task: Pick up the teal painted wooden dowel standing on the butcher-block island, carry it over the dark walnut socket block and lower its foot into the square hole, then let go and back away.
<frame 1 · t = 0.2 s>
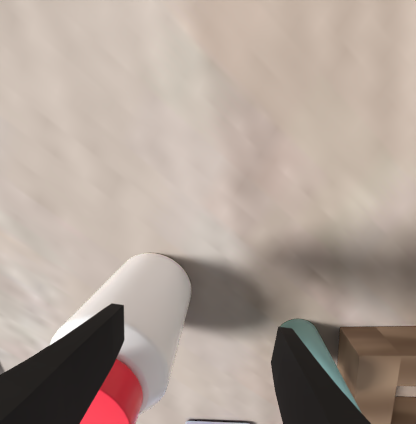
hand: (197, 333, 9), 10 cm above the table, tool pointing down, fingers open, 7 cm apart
socket block: (399, 375, 21), on the table
dowel: (297, 335, 21), on the table
pill bottle: (154, 286, 21), on the table
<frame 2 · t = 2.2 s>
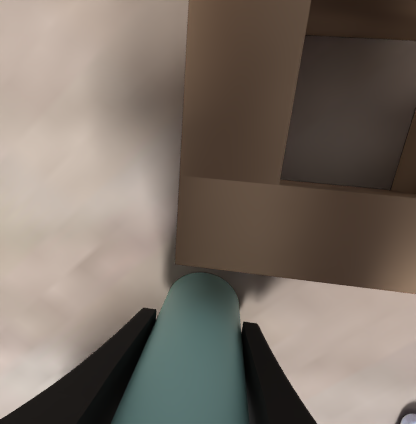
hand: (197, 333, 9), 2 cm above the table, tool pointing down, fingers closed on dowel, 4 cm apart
socket block: (340, 116, 8), on the table
dowel: (202, 305, 11), on the table, touching gripper
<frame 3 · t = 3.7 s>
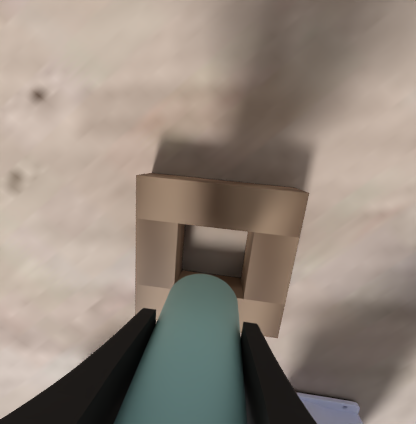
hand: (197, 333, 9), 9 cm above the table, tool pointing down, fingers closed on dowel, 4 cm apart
socket block: (214, 246, 18), on the table
dowel: (202, 305, 12), point 7 cm above the table, touching gripper
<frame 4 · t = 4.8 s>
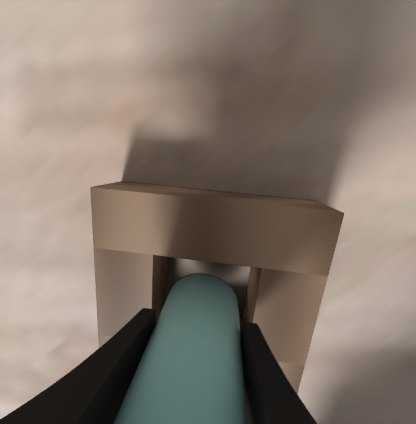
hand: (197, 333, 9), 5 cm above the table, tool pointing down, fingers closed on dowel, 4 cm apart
socket block: (207, 277, 14), on the table
dowel: (202, 304, 12), point 3 cm above the table, touching gripper
when the fingers open (4 cm above the table, at t = 5.5 s): dowel drops 2 cm, resting in socket block.
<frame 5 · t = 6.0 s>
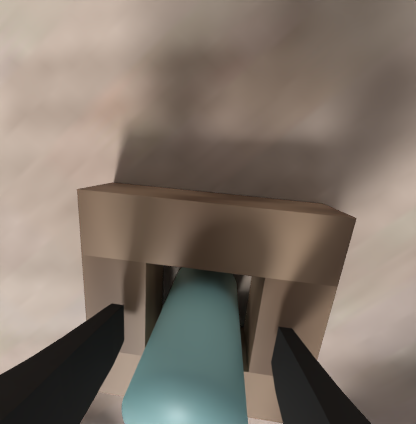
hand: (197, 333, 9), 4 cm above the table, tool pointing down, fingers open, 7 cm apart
socket block: (205, 285, 13), on the table
dowel: (205, 287, 13), resting in socket block
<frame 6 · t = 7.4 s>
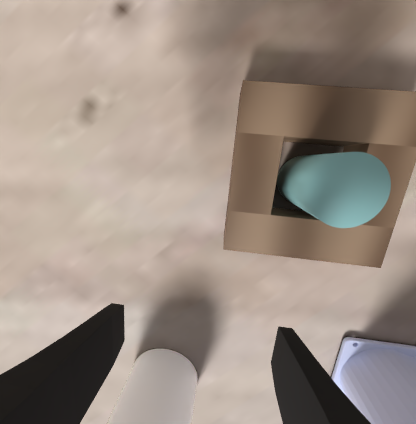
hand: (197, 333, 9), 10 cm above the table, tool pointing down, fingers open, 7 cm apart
socket block: (301, 178, 17), on the table
dowel: (301, 179, 17), resting in socket block
pill bottle: (165, 372, 24), on the table
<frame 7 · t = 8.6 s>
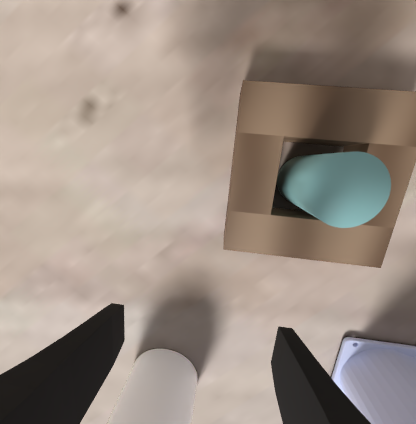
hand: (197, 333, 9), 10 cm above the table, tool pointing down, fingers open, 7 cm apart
socket block: (301, 178, 17), on the table
dowel: (301, 179, 17), resting in socket block
pill bottle: (165, 372, 24), on the table
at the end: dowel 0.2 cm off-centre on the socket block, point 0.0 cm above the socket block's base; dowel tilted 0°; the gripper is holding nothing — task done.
